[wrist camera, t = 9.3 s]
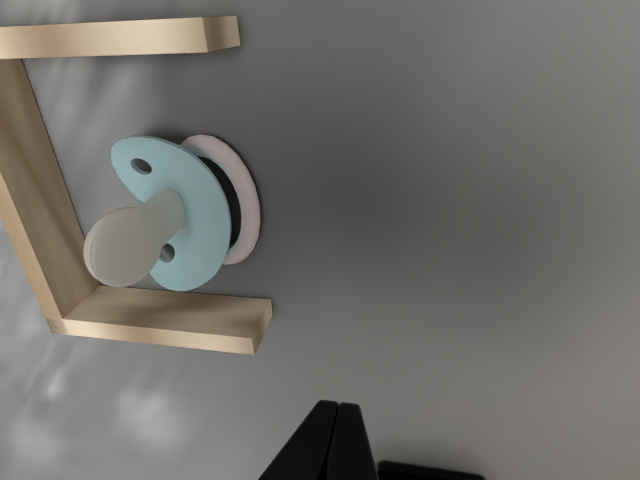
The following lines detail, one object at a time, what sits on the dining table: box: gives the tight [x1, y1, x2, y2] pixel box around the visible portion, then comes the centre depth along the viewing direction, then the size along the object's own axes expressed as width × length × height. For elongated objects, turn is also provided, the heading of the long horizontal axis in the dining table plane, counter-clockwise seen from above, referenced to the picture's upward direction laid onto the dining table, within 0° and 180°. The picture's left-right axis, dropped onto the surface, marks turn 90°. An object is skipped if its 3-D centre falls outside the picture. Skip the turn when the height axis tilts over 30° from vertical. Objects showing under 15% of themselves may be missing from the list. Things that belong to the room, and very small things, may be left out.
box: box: [0, 16, 273, 355], centre depth 19 cm, size 11×14×3 cm
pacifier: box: [83, 134, 261, 291], centre depth 17 cm, size 7×6×6 cm
